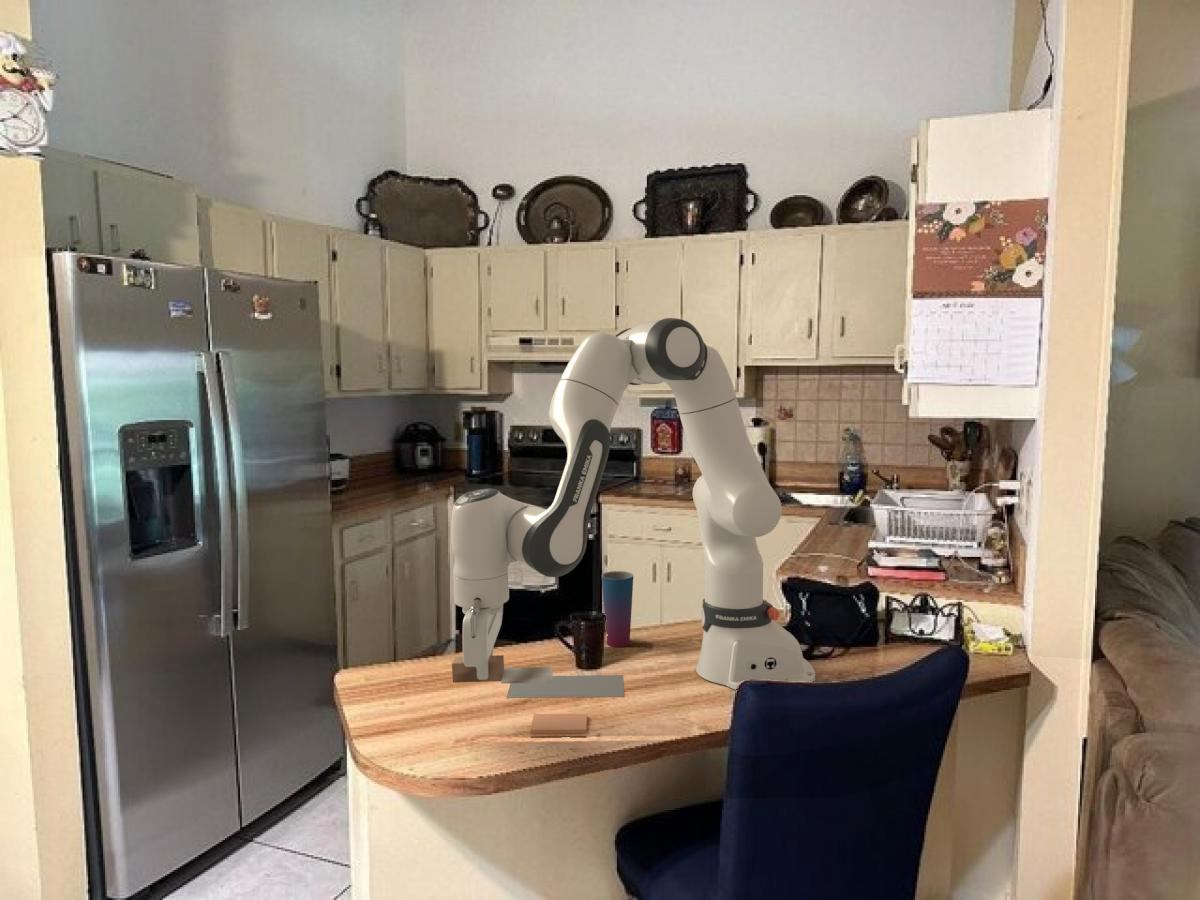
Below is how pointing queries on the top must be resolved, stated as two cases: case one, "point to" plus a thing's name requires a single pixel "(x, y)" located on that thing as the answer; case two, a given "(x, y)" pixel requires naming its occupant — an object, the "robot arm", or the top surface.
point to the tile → (559, 724)
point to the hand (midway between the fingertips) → (485, 672)
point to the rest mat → (570, 687)
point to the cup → (617, 606)
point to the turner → (500, 672)
